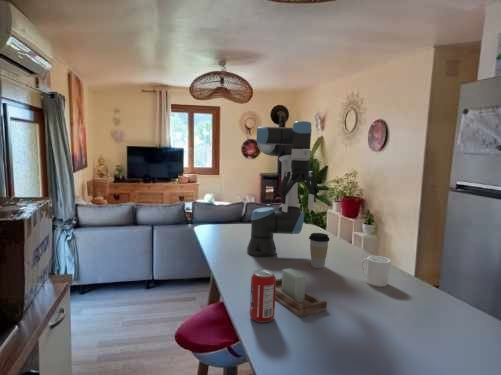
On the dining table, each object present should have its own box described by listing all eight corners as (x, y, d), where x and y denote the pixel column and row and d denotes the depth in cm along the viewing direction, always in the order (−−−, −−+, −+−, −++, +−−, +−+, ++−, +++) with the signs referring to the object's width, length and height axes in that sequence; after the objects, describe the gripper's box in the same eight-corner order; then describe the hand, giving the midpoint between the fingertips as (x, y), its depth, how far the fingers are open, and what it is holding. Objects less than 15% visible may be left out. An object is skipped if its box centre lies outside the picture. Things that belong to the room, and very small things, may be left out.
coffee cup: (328, 270, 155) (330, 238, 154) (307, 268, 157) (308, 236, 156) (327, 264, 165) (329, 233, 163) (307, 262, 166) (309, 231, 165)
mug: (387, 281, 145) (389, 257, 144) (389, 289, 137) (391, 263, 135) (360, 277, 149) (362, 254, 147) (360, 284, 140) (361, 260, 139)
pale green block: (281, 293, 126) (282, 269, 125) (289, 291, 128) (290, 268, 127) (296, 303, 119) (297, 278, 118) (304, 301, 120) (305, 276, 119)
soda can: (266, 326, 104) (268, 279, 102) (244, 319, 108) (246, 273, 106) (278, 316, 111) (280, 271, 109) (257, 310, 115) (259, 266, 113)
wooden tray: (261, 289, 131) (261, 282, 131) (284, 285, 137) (285, 277, 137) (300, 317, 111) (300, 308, 110) (326, 310, 116) (326, 301, 116)
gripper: (280, 159, 132) (278, 214, 134) (329, 160, 144) (326, 210, 146) (270, 158, 138) (267, 210, 141) (317, 159, 151) (315, 207, 153)
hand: (297, 210), depth 144 cm, fingers open, 13 cm apart
